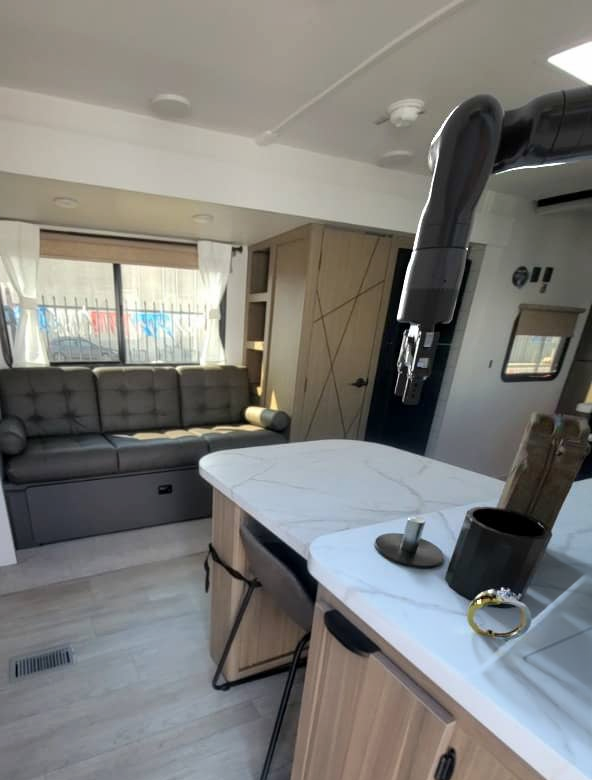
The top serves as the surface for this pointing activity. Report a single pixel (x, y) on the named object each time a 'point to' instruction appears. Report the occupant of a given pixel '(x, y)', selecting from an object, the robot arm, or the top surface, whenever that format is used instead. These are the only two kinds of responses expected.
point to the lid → (410, 547)
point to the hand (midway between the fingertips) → (405, 399)
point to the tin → (496, 553)
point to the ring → (502, 597)
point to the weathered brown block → (546, 465)
